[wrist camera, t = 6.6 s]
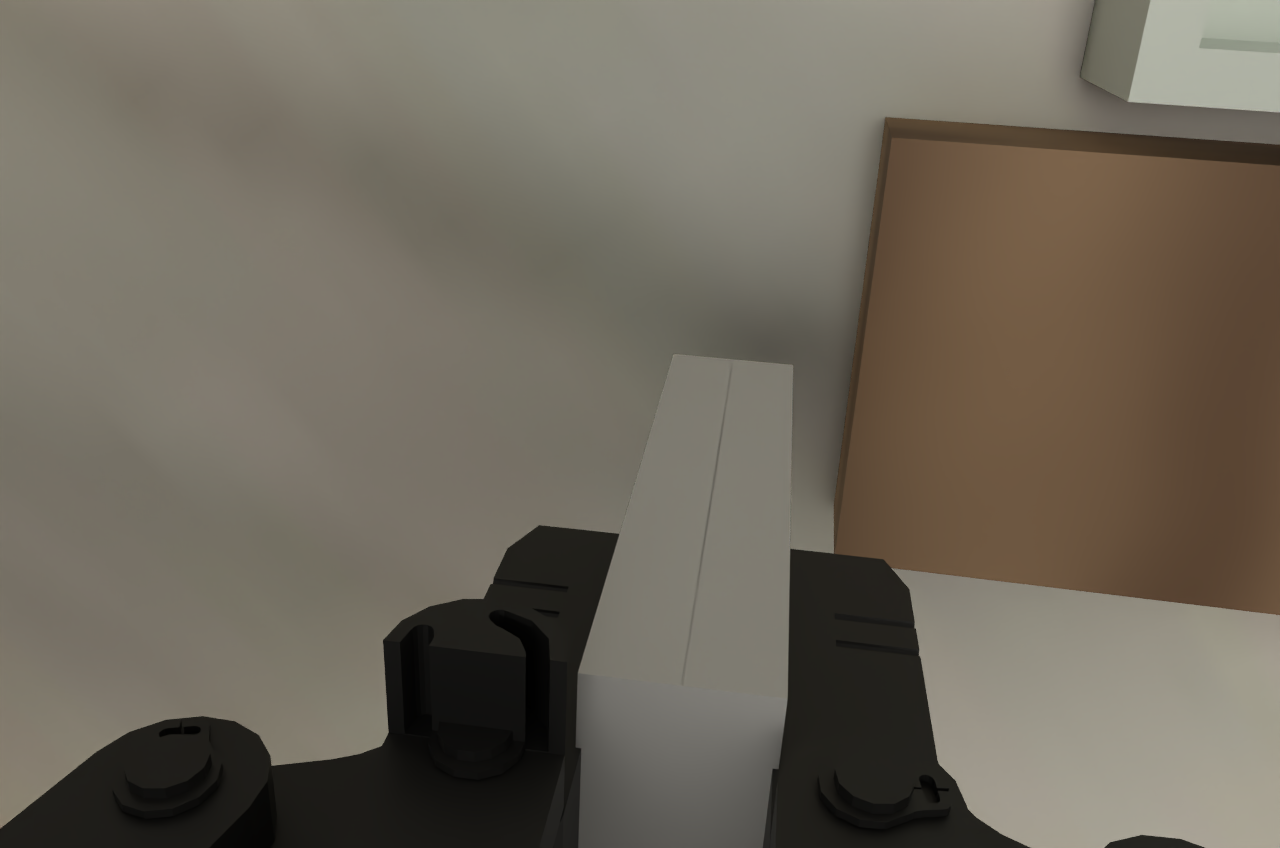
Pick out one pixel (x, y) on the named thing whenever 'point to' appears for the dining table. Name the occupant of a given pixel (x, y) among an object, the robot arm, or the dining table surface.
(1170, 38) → the tray
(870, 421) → the tan wooden board
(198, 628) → the dining table surface
